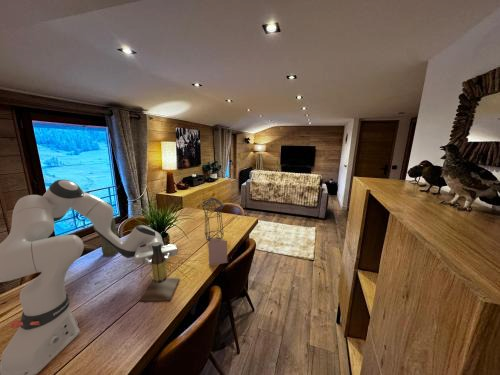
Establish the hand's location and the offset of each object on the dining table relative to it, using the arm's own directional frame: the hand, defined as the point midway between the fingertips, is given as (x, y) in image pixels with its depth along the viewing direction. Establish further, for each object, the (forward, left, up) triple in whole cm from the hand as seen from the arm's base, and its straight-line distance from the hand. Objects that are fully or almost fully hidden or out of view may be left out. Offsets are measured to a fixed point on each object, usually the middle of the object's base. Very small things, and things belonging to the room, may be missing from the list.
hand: (158, 261), depth 95 cm
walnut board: (0, 0, -17) cm, 17 cm away
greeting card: (+23, -26, -17) cm, 38 cm away
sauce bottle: (+1, 0, -11) cm, 11 cm away
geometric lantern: (+53, -20, -17) cm, 59 cm away
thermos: (+36, +46, -17) cm, 61 cm away
